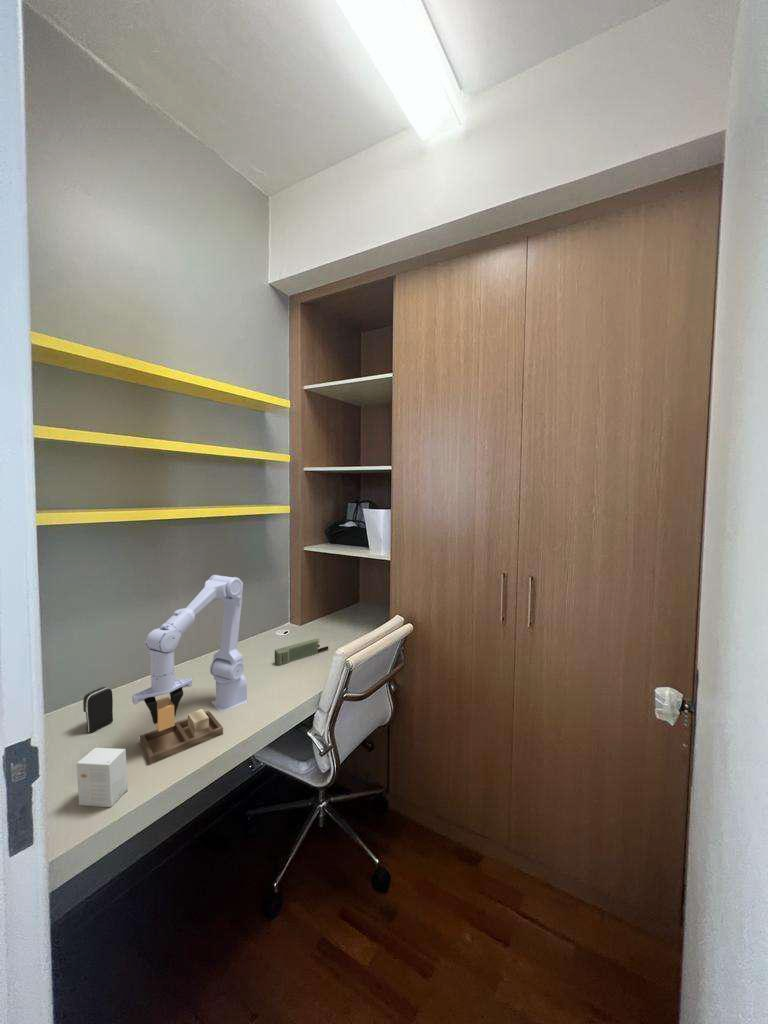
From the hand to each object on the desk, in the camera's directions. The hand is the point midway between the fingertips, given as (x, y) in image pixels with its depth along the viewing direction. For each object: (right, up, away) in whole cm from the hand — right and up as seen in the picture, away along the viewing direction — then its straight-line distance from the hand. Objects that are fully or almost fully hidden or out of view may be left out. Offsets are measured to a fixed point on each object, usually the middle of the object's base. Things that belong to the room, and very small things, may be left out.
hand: (164, 718), depth 110 cm
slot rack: (+3, -8, +4) cm, 10 cm away
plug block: (0, -2, 0) cm, 2 cm away
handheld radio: (+27, -5, +59) cm, 65 cm away
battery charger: (-26, -8, +10) cm, 28 cm away
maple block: (+7, -7, +7) cm, 12 cm away
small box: (-5, -10, -17) cm, 20 cm away
